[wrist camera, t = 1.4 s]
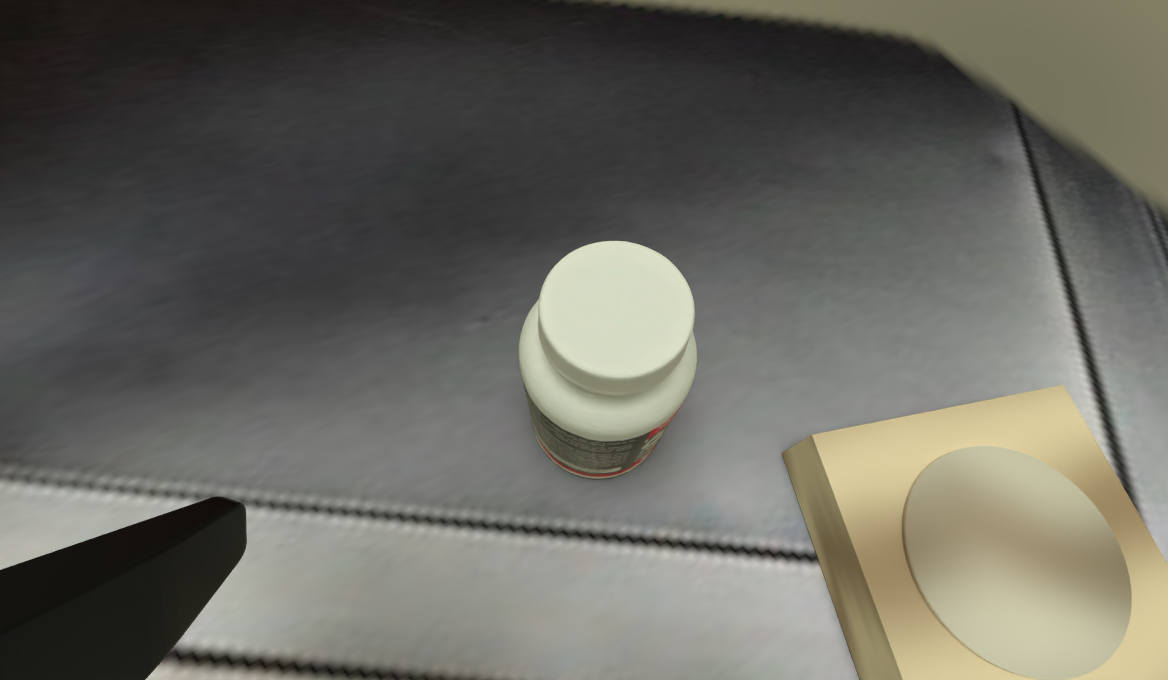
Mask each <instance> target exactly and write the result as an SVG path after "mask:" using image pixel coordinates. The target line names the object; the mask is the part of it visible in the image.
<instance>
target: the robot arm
mask: <svg viewBox="0 0 1168 680" xmlns="http://www.w3.org/2000/svg"><path fill="white" fill-rule="evenodd" d="M246 544H247V534H246V508H245V507H244V505H243V504H242V503H240V502H237V501H234V500H231V499H228V498H225V497H213V498H209V499H206V500H203V501H201V502H198V503H195V504H192V505H189V506H186V507H183V508H180V509H177V510H174V511H171V512H168V513H165V514H163V515H160V516H157V517H154V518H151V519H148V520H145V521H142V522H139V523H136V524H133V525H130V526H127V527H125V528H122V529H119V530H116V531H113V532H110V533H107V534H104V535H101V536H98V537H95V538H92V539H90V540H87V541H84V542H81V543H78V544H75V545H72V546H69V547H66V548H63V549H60V550H57V551H54V552H52V553H49V554H46V555H43V556H40V557H37V558H34V559H31V560H28V561H25V562H22V563H19V564H16V565H14V566H11V567H8V568H5V569H2V570H0V680H145V679H146V678H147V677H148V676H149V675H150V674H151V673H152V672H153V671H154V669H155V668H156V667H157V666H158V665H159V664H160V663H161V661H162V660H163V659H164V658H165V657H166V656H167V655H168V653H169V652H170V651H171V650H172V648H173V647H174V646H175V645H176V643H177V642H178V641H179V640H180V638H181V637H182V636H183V634H184V633H185V632H186V631H187V629H188V628H189V627H190V625H191V624H192V623H193V621H194V620H195V619H196V617H197V616H198V615H199V613H200V612H201V611H202V610H203V608H204V607H205V606H206V604H207V603H208V602H209V600H210V599H211V598H212V596H213V595H214V594H215V592H216V591H217V590H218V589H219V587H220V586H221V585H222V583H223V582H224V581H225V579H226V578H227V577H228V575H229V574H230V573H231V571H232V570H233V569H234V568H235V566H236V565H237V564H238V562H239V561H240V559H241V558H242V556H243V554H244V552H245V549H246Z"/></svg>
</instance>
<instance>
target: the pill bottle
mask: <svg viewBox="0 0 1168 680" xmlns="http://www.w3.org/2000/svg"><path fill="white" fill-rule="evenodd" d="M694 316H695V310H694V301H693V297H692V294H691V291H690V288H689V286H688V284H687V282H686V280H685V278H684V277H683V276H682V274H681V273H680V271H679V270H678V269H677V268H676V267H675V266H674V265H673V264H672V263H671V262H670V261H669V260H668V259H666V258H665V257H664V256H662V255H661V254H659V253H657V252H656V251H654V250H651V249H649V248H647V247H644V246H642V245H639V244H635V243H630V242H624V241H605V242H598V243H593V244H589V245H586V246H584V247H581V248H579V249H577V250H575V251H573V252H571V253H569V254H568V255H567V256H565V257H564V258H563V259H561V260H560V261H559V262H558V263H557V264H556V265H555V266H554V268H553V269H552V270H551V272H550V273H549V275H548V276H547V278H546V280H545V282H544V284H543V287H542V290H541V293H540V298H539V300H538V301H537V302H536V303H535V305H534V306H533V308H532V309H531V311H530V312H529V314H528V316H527V318H526V320H525V323H524V325H523V329H522V332H521V336H520V342H519V363H520V371H521V376H522V380H523V383H524V387H525V392H526V395H527V400H528V405H529V410H530V416H531V421H532V424H533V428H534V431H535V434H536V437H537V440H538V442H539V444H540V446H541V447H542V449H543V450H544V451H545V453H546V454H547V455H548V456H549V458H550V459H551V460H552V461H553V462H554V463H556V464H557V465H559V466H560V467H561V468H563V469H564V470H566V471H568V472H570V473H572V474H574V475H578V476H581V477H585V478H592V479H603V478H611V477H615V476H618V475H621V474H624V473H626V472H628V471H630V470H632V469H633V468H635V467H636V466H637V465H639V464H640V463H641V462H642V461H643V460H644V459H645V458H646V457H647V456H648V455H649V454H650V453H651V452H652V450H653V449H654V447H655V446H656V444H657V443H658V441H659V440H660V438H661V436H662V435H663V433H664V431H665V430H666V428H667V427H668V425H669V423H670V422H671V420H672V419H673V417H674V416H675V414H676V413H677V411H678V410H679V408H680V407H681V405H682V404H683V402H684V401H685V399H686V397H687V395H688V393H689V391H690V388H691V385H692V383H693V380H694V376H695V371H696V365H697V349H696V342H695V338H694V334H693V331H692V330H693V325H694Z"/></svg>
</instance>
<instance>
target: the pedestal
mask: <svg viewBox="0 0 1168 680" xmlns="http://www.w3.org/2000/svg"><path fill="white" fill-rule="evenodd" d="M782 455H783V458H784V461H785V464H786V467H787V470H788V473H789V475H790V478H791V481H792V484H793V487H794V490H795V493H796V496H797V499H798V502H799V505H800V507H801V510H802V513H803V516H804V519H805V522H806V525H807V528H808V531H809V534H810V536H811V539H812V542H813V545H814V548H815V551H816V554H817V557H818V560H819V563H820V565H821V568H822V571H823V574H824V577H825V580H826V583H827V586H828V589H829V592H830V594H831V597H832V600H833V603H834V606H835V609H836V612H837V615H838V618H839V621H840V623H841V626H842V629H843V632H844V635H845V638H846V641H847V644H848V647H849V650H850V652H851V655H852V658H853V661H854V664H855V667H856V670H857V673H858V676H859V679H860V680H1168V564H1167V562H1166V560H1165V558H1164V557H1163V555H1162V553H1161V552H1160V550H1159V548H1158V546H1157V545H1156V543H1155V541H1154V540H1153V538H1152V536H1151V534H1150V533H1149V531H1148V529H1147V527H1146V526H1145V524H1144V522H1143V521H1142V519H1141V517H1140V515H1139V514H1138V512H1137V510H1136V509H1135V507H1134V505H1133V503H1132V502H1131V500H1130V498H1129V497H1128V495H1127V493H1126V491H1125V490H1124V488H1123V486H1122V484H1121V483H1120V481H1119V479H1118V478H1117V476H1116V474H1115V472H1114V471H1113V469H1112V467H1111V466H1110V464H1109V462H1108V460H1107V459H1106V457H1105V455H1104V454H1103V452H1102V450H1101V448H1100V447H1099V445H1098V443H1097V441H1096V440H1095V438H1094V436H1093V435H1092V433H1091V431H1090V429H1089V428H1088V426H1087V424H1086V423H1085V421H1084V419H1083V417H1082V416H1081V414H1080V412H1079V411H1078V409H1077V407H1076V405H1075V404H1074V402H1073V400H1072V398H1071V397H1070V395H1069V393H1068V392H1067V390H1066V388H1065V386H1064V385H1061V386H1056V387H1051V388H1046V389H1041V390H1036V391H1031V392H1026V393H1021V394H1016V395H1011V396H1006V397H1000V398H995V399H990V400H985V401H980V402H975V403H970V404H965V405H960V406H955V407H950V408H945V409H940V410H935V411H930V412H925V413H920V414H915V415H910V416H905V417H899V418H894V419H889V420H884V421H879V422H874V423H869V424H864V425H859V426H854V427H849V428H844V429H839V430H834V431H829V432H824V433H819V434H814V435H811V436H809V437H808V438H806V439H804V440H803V441H801V442H799V443H798V444H796V445H795V446H793V447H791V448H790V449H788V450H786V451H785V452H783V453H782Z"/></svg>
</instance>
